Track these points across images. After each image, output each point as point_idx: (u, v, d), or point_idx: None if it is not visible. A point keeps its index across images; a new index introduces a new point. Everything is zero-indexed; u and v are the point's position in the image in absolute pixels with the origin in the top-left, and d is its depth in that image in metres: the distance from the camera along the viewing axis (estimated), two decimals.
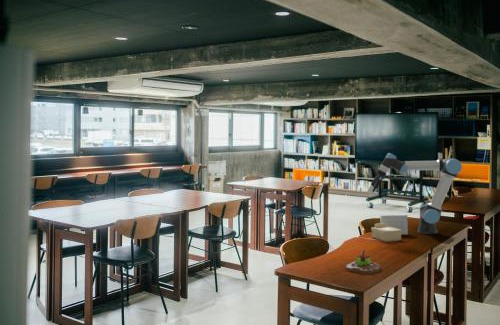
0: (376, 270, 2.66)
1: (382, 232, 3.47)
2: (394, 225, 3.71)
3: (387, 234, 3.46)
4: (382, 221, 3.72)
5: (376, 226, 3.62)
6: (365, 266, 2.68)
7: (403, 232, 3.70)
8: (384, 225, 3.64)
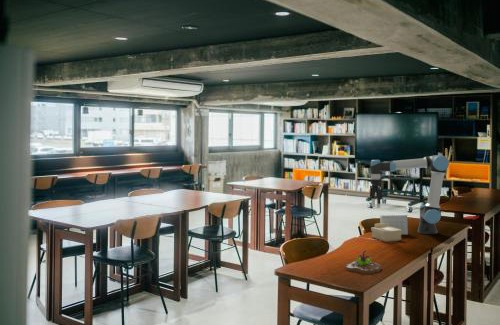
0: (376, 270, 2.66)
1: (382, 232, 3.47)
2: (394, 225, 3.71)
3: (387, 234, 3.46)
4: (382, 221, 3.72)
5: (376, 226, 3.62)
6: (365, 266, 2.68)
7: (403, 232, 3.70)
8: (384, 225, 3.64)
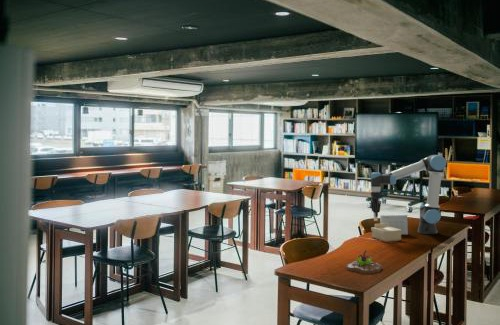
0: (377, 270, 2.66)
1: (382, 232, 3.47)
2: (394, 225, 3.71)
3: (387, 234, 3.46)
4: (382, 221, 3.72)
5: (376, 226, 3.62)
6: (366, 266, 2.68)
7: (403, 232, 3.70)
8: (384, 225, 3.64)
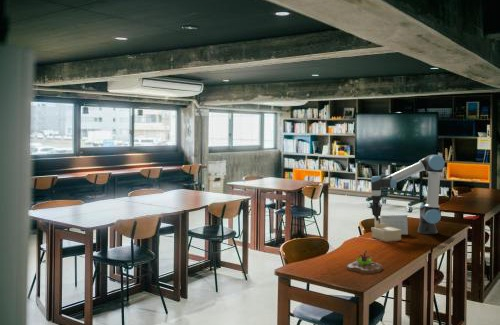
0: (377, 270, 2.66)
1: (382, 232, 3.47)
2: (394, 225, 3.71)
3: (387, 234, 3.46)
4: (382, 221, 3.72)
5: (376, 226, 3.62)
6: (366, 266, 2.68)
7: (403, 232, 3.70)
8: (384, 225, 3.64)
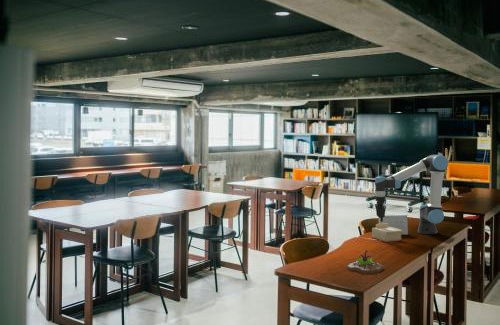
0: (377, 270, 2.66)
1: (383, 232, 3.46)
2: (394, 225, 3.71)
3: (387, 234, 3.46)
4: None
5: (377, 226, 3.60)
6: (366, 266, 2.69)
7: (403, 232, 3.70)
8: (385, 225, 3.62)
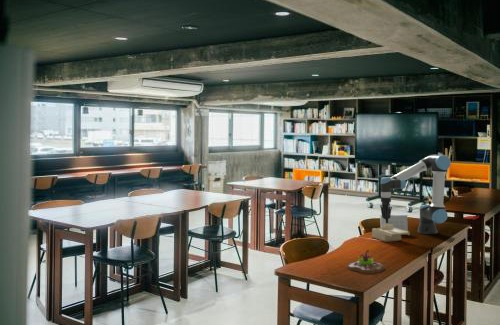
0: (377, 270, 2.66)
1: (389, 234, 3.39)
2: (394, 225, 3.71)
3: None
4: (382, 221, 3.72)
5: (383, 228, 3.53)
6: (366, 266, 2.69)
7: None
8: (391, 227, 3.55)
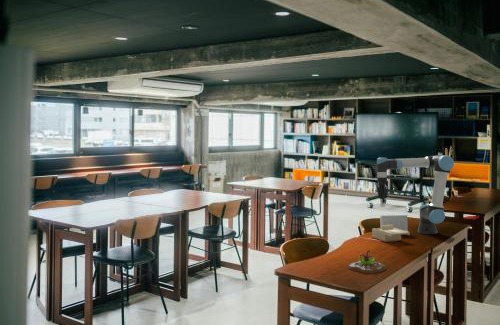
0: (377, 270, 2.66)
1: (389, 234, 3.39)
2: (394, 225, 3.71)
3: None
4: (382, 221, 3.72)
5: (383, 228, 3.53)
6: (367, 265, 2.69)
7: None
8: (391, 227, 3.55)
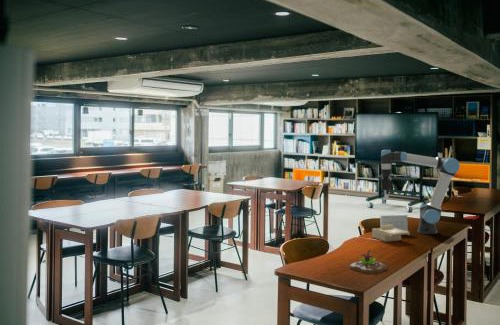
0: (377, 270, 2.66)
1: (389, 234, 3.39)
2: (394, 225, 3.71)
3: None
4: (382, 221, 3.72)
5: (383, 228, 3.53)
6: (367, 265, 2.69)
7: None
8: (391, 227, 3.55)
